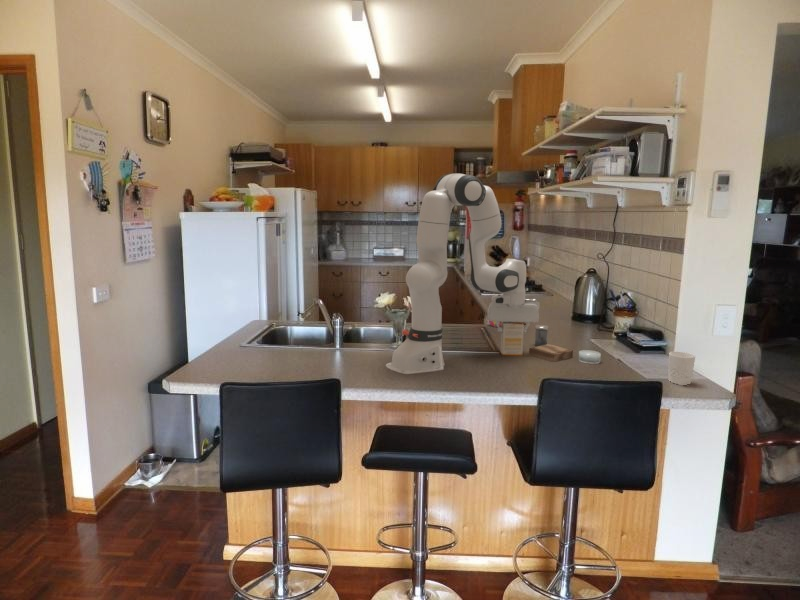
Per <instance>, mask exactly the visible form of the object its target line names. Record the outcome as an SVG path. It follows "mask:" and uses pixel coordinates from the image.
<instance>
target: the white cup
mask: <svg viewBox="0 0 800 600" xmlns="http://www.w3.org/2000/svg"><path fill="white" fill-rule="evenodd" d="M695 360H696V355H695V354H694V353H690V352H685V351H676V350H675V351H670V352H669V353H668V365H667V366H668V367H667V369H668V371H667V372H668V373H667V374H668V378H667V380H669V381H671V382H674V383H678V384H690V385H691V382H692V377H693V372H694V366H695ZM669 381H668V382H669Z"/></svg>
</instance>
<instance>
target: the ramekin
mask: <svg viewBox="0 0 800 600" xmlns="http://www.w3.org/2000/svg"><path fill="white" fill-rule="evenodd" d="M601 356H602V354H601V352H599V351H597V350H596V351H595V350H589V349H582V350H579V351H578V361H579V362H581V363H584V364H589V365H598V364H600V363H601Z"/></svg>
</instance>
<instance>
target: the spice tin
mask: <svg viewBox="0 0 800 600" xmlns="http://www.w3.org/2000/svg"><path fill="white" fill-rule="evenodd" d="M534 327H535V328H534V329H535V334H534V336H535V337H534V338H535V339H534V347H537V346H542V345H546V344H548V332H549V331H548V330H549V326H548V325H544V324H535V326H534Z"/></svg>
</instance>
